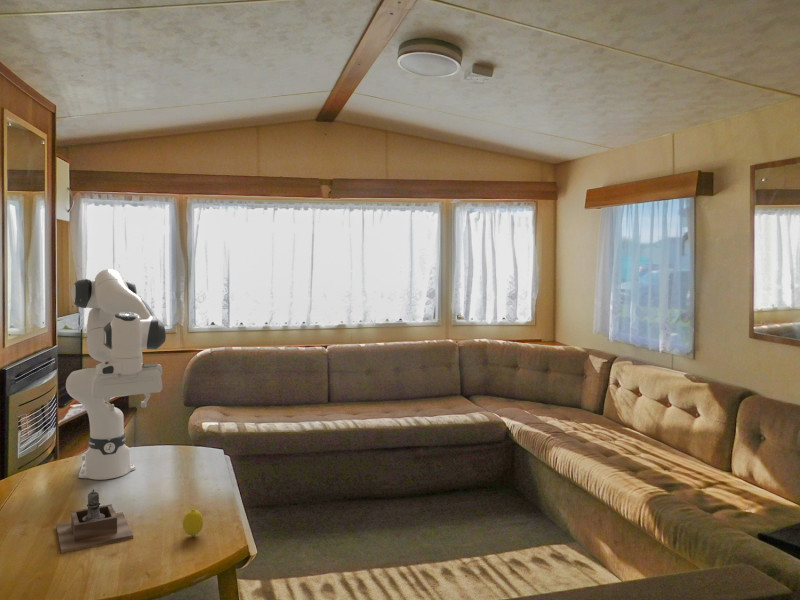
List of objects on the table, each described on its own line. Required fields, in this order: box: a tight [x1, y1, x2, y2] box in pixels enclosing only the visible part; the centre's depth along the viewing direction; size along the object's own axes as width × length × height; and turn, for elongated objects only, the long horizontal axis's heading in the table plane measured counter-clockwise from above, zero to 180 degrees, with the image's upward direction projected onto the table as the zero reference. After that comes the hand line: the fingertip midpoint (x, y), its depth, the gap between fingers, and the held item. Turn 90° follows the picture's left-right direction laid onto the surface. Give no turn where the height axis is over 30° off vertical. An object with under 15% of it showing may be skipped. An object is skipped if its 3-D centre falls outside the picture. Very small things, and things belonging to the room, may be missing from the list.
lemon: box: [182, 508, 204, 537], centre depth 181 cm, size 6×6×8 cm
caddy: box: [55, 504, 134, 554], centre depth 181 cm, size 18×18×6 cm
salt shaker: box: [82, 488, 105, 522], centre depth 181 cm, size 6×6×12 cm
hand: (127, 408), depth 197 cm, fingers open, 8 cm apart
